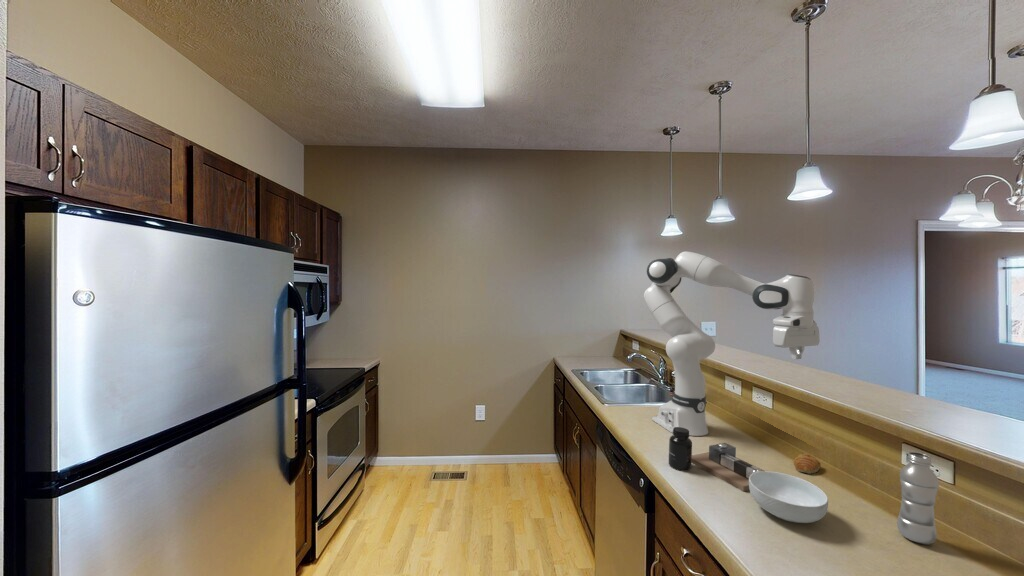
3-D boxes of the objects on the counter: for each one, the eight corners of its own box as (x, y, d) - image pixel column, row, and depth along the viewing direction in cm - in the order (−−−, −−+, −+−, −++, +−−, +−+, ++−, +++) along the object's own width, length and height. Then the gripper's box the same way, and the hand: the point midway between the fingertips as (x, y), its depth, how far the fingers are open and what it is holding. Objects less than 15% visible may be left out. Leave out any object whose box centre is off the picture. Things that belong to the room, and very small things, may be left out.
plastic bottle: (888, 531, 94) (891, 449, 94) (913, 530, 95) (916, 449, 94) (918, 549, 88) (922, 461, 87) (945, 548, 88) (949, 461, 88)
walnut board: (687, 460, 129) (687, 456, 129) (720, 454, 135) (720, 449, 135) (743, 491, 111) (743, 486, 111) (778, 482, 116) (778, 477, 116)
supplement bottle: (665, 466, 125) (666, 429, 125) (673, 459, 130) (674, 423, 130) (687, 473, 120) (688, 435, 120) (694, 466, 125) (695, 429, 125)
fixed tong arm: (720, 464, 123) (720, 454, 123) (722, 464, 124) (723, 454, 124) (754, 482, 113) (755, 471, 113) (757, 481, 113) (757, 470, 113)
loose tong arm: (723, 463, 124) (724, 453, 124) (726, 463, 124) (726, 453, 124) (758, 481, 113) (758, 470, 113) (761, 480, 114) (761, 469, 114)
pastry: (817, 478, 120) (817, 466, 120) (790, 470, 124) (790, 459, 124) (820, 468, 126) (821, 456, 126) (795, 461, 131) (795, 450, 131)
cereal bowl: (735, 494, 109) (736, 469, 109) (795, 496, 109) (796, 471, 109) (774, 533, 92) (775, 504, 92) (845, 536, 92) (846, 506, 92)
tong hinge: (708, 459, 127) (709, 443, 127) (724, 456, 130) (725, 440, 130) (719, 464, 124) (719, 448, 123) (735, 461, 126) (735, 445, 126)
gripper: (806, 318, 145) (805, 355, 145) (769, 319, 137) (768, 358, 137) (825, 320, 139) (824, 359, 139) (788, 321, 131) (786, 362, 131)
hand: (796, 358), depth 138 cm, fingers closed
